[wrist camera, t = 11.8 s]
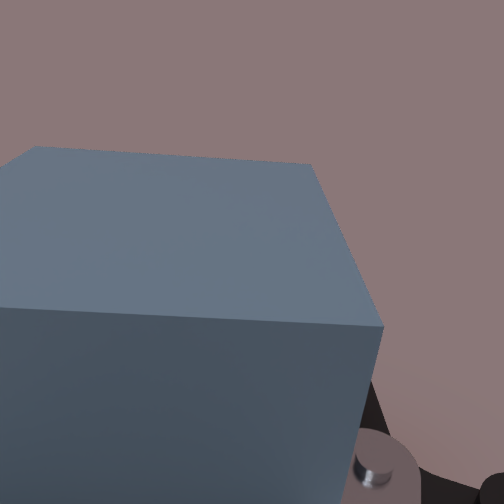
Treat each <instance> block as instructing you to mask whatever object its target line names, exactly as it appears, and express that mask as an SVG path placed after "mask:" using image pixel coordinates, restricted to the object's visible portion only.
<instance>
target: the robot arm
mask: <svg viewBox="0 0 504 504" xmlns="http://www.w3.org/2000/svg"><path fill="white" fill-rule="evenodd" d="M340 504H504V473H497V474H494V475H491V476H490V477H488V478H487V479H486V480H485V481H484V482H483V484H482V486H481V488H480V490H479V489H476V488H473V487H469V486H466V485H463V484H460V483H457V482H454V481H451V480H448V479H444V478H441V477H439V476H436V475H433V474H431V473H429V472H427V471H425V470H423V469H422V468H420V467H418V465H417V463H416V460H415V459H414V457H413V456H412V454H411V453H410V452H409V451H408V450H407V448H406V447H405V446H404V445H402V444H401V443H400V442H399V441H397V440H396V439H394V438H393V437H391V436H390V433H389V430H388V428H387V425H386V422H385V419H384V416H383V413H382V411H381V408H380V405H379V402H378V399H377V396H376V393H375V391H374V388H373V385H372V382H370V386H369V390H368V394H367V398H366V402H365V406H364V410H363V414H362V418H361V422H360V427H359V431H358V435H357V439H356V443H355V447H354V451H353V455H352V459H351V463H350V467H349V471H348V475H347V479H346V483H345V487H344V491H343V495H342V499H341V503H340Z"/></svg>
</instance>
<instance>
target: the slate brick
mask: <svg viewBox="0 0 504 504" xmlns="http://www.w3.org/2000/svg"><path fill="white" fill-rule="evenodd" d="M383 329H384V325H383V323H382V321H381V319H380V316H379V314H378V312H377V310H376V308H375V305H374V303H373V301H372V299H371V297H370V294H369V292H368V290H367V288H366V285H365V283H364V281H363V279H362V277H361V274H360V272H359V270H358V268H357V265H356V263H355V261H354V259H353V257H352V254H351V252H350V250H349V248H348V246H347V243H346V241H345V239H344V237H343V234H342V232H341V230H340V228H339V226H338V223H337V221H336V219H335V217H334V215H333V212H332V210H331V208H330V206H329V204H328V201H327V199H326V197H325V195H324V193H323V190H322V188H321V186H320V184H319V181H318V179H317V177H316V175H315V173H314V170H313V168H312V166H311V165H310V164H296V163H281V162H267V161H252V160H236V159H235V160H234V159H221V158H220V159H219V158H205V157H191V156H176V155H160V154H146V153H130V152H115V151H100V150H85V149H69V148H55V147H39V146H35V147H33V148H31V149H30V150H28V151H27V152H25V153H23V154H22V155H20V156H18V157H17V158H15V159H13V160H12V161H10V162H9V163H7V164H5V165H4V166H2V167H0V504H340V503H341V499H342V495H343V491H344V487H345V483H346V479H347V475H348V471H349V467H350V463H351V459H352V455H353V451H354V447H355V443H356V439H357V435H358V431H359V427H360V422H361V418H362V414H363V410H364V406H365V402H366V398H367V394H368V390H369V386H370V382H371V378H372V374H373V370H374V366H375V362H376V358H377V354H378V350H379V346H380V342H381V337H382V333H383Z"/></svg>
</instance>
